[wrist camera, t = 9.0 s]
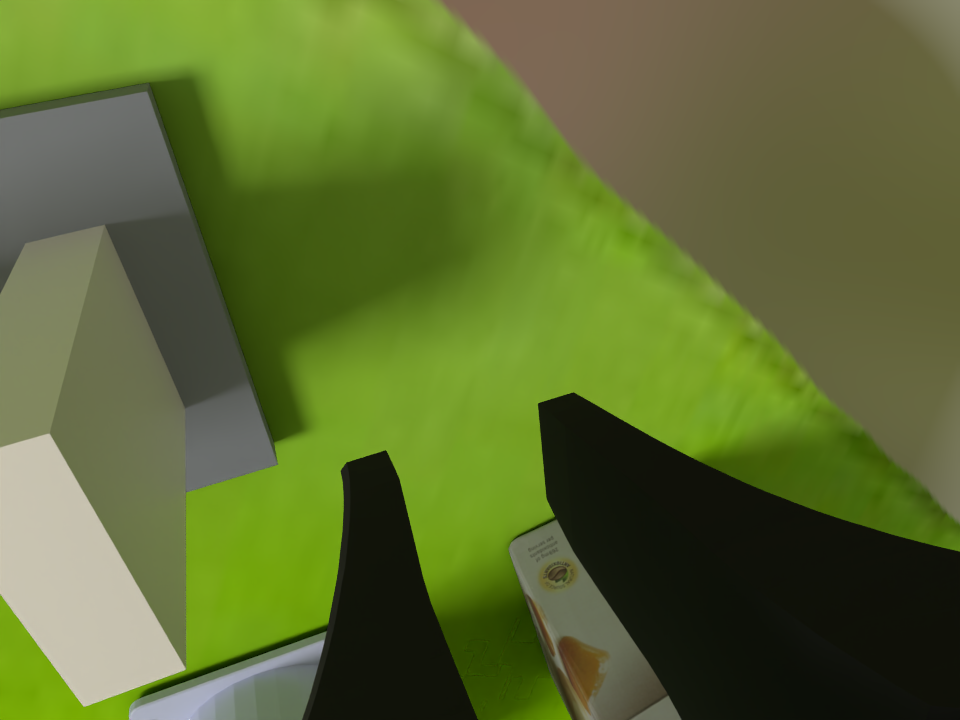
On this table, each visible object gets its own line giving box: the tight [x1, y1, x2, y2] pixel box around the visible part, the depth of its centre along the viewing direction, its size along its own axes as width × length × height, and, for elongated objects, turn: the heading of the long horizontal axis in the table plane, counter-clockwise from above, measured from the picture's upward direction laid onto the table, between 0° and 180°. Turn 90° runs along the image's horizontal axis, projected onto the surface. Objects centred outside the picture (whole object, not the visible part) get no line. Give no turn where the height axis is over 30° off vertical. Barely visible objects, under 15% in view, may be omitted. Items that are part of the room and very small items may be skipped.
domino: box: [0, 225, 186, 707], centre depth 14 cm, size 5×2×8 cm, turn 7°
